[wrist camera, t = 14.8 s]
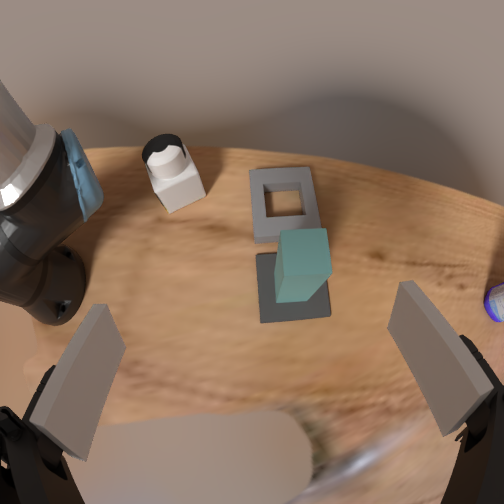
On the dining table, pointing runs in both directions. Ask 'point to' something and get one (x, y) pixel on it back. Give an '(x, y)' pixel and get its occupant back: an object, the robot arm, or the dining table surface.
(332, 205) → the dining table surface
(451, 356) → the robot arm
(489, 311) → the bottle
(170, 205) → the medicine bottle
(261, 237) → the socket block
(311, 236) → the plug
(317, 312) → the mat
